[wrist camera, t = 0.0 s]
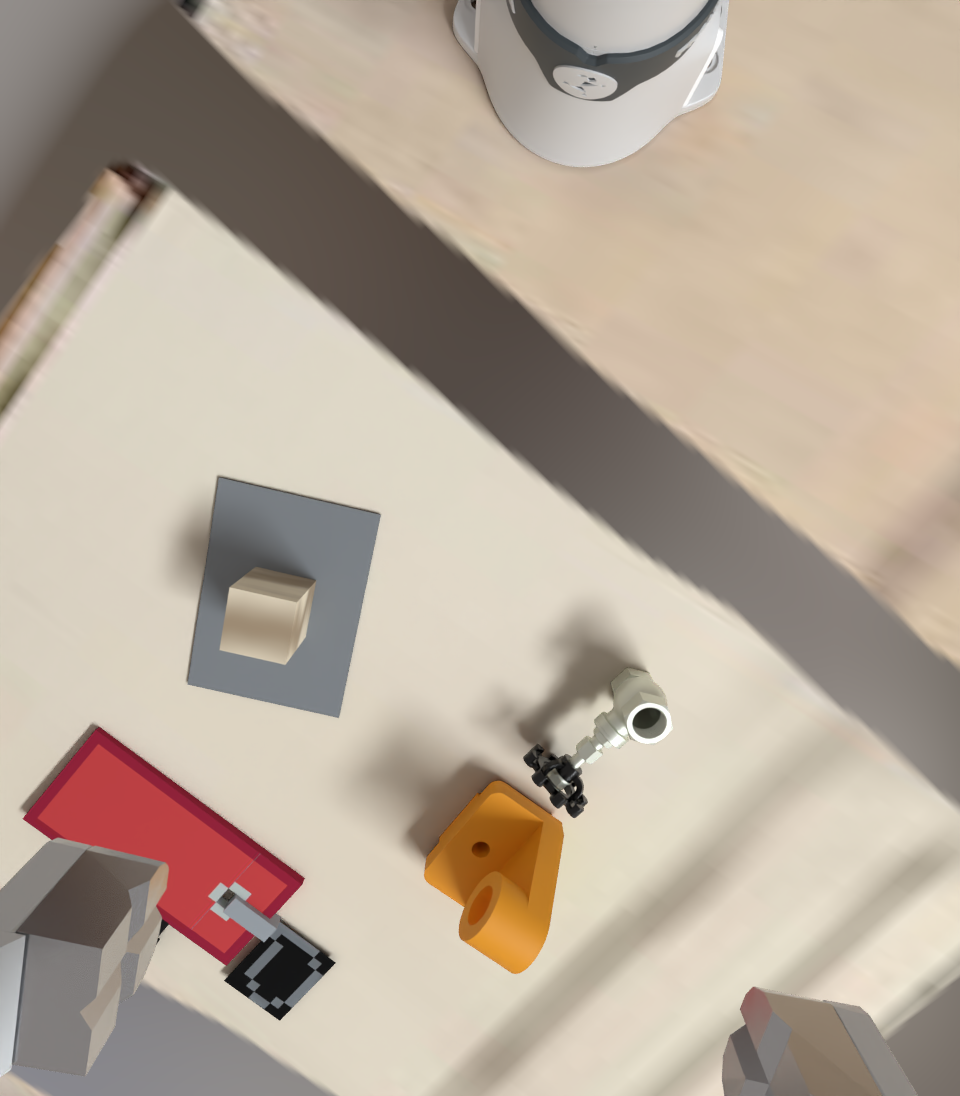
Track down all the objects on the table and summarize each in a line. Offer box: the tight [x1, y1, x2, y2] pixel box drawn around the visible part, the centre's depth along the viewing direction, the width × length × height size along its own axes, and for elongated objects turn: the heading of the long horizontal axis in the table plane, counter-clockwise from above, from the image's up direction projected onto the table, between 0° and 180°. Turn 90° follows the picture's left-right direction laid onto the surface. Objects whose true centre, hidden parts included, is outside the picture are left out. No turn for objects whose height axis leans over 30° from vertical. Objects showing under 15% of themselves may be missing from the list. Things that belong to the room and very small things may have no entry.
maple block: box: [219, 567, 316, 665], centre depth 56 cm, size 5×5×6 cm
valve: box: [523, 667, 673, 818], centre depth 58 cm, size 7×7×12 cm
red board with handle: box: [23, 727, 335, 1020], centre depth 64 cm, size 30×3×15 cm
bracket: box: [424, 781, 564, 974], centre depth 58 cm, size 11×7×12 cm, turn 143°
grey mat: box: [188, 477, 381, 718], centre depth 59 cm, size 18×13×1 cm
